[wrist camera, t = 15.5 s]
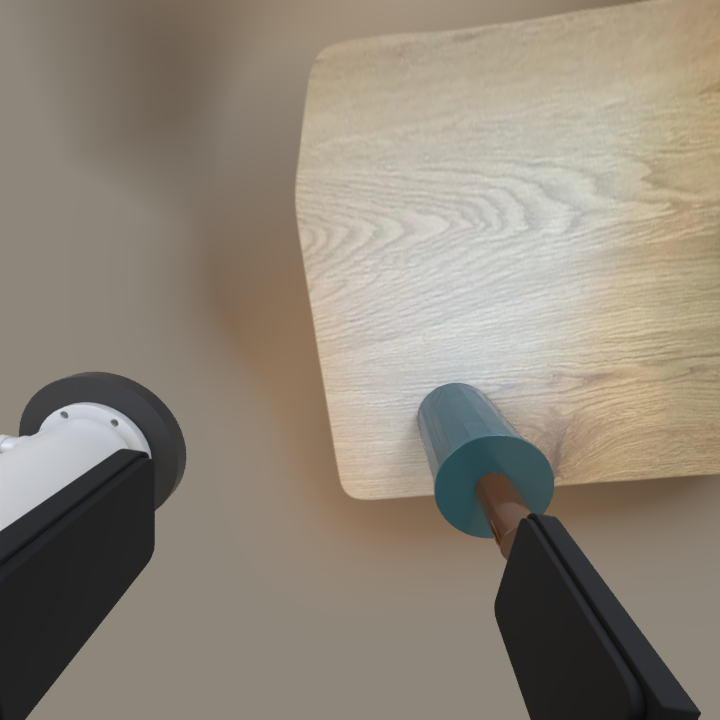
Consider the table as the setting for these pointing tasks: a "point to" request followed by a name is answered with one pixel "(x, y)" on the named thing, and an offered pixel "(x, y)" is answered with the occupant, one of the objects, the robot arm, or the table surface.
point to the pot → (456, 420)
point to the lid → (493, 486)
